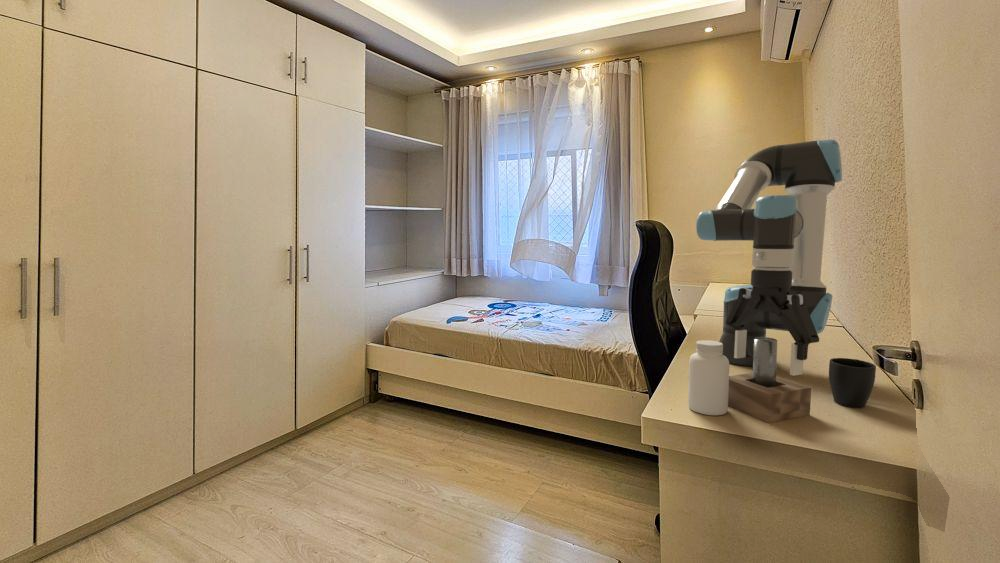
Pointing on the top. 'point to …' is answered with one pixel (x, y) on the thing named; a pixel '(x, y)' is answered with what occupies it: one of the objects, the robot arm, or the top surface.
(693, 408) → the pill bottle
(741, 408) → the socket block
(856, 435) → the top surface
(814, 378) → the top surface
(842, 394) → the mug
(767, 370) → the peg
